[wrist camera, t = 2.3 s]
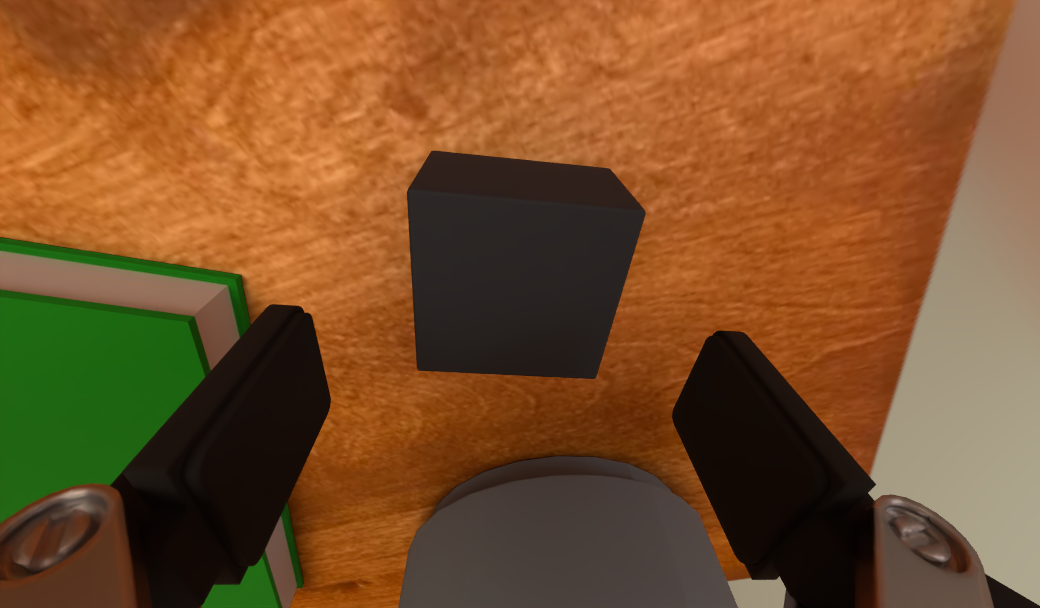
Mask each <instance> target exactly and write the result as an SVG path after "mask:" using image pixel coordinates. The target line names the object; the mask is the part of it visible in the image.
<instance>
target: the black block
mask: <svg viewBox="0 0 1040 608" xmlns="http://www.w3.org/2000/svg"><path fill="white" fill-rule="evenodd" d="M407 201H408V219H409V236H410V254H411V272H412V289H413V307H414V324H415V342H416V360H417V369H418V370H419V371H439V372H459V373H480V374H501V375H522V376H542V377H563V378H584V379H595V378H596V376H597V373H598V370H599V366H600V363H601V360H602V356H603V353H604V350H605V346H606V343H607V340H608V337H609V333H610V330H611V327H612V323H613V320H614V317H615V313H616V310H617V307H618V303H619V300H620V297H621V293H622V290H623V287H624V284H625V280H626V277H627V274H628V270H629V267H630V264H631V260H632V257H633V254H634V250H635V247H636V244H637V240H638V237H639V234H640V230H641V227H642V224H643V221H644V217H645V214H646V213H645V210H644V209H643V208H642V206H641V205H640V204H639V203H638V202H637V200H636V199H635V198H634V197H633V196H632V195H631V193H630V192H629V191H628V190H627V189H626V187H625V186H624V185H623V184H622V183H621V181H620V180H619V179H618V178H617V177H616V175H615V174H614V173H613V172H612V171H611V170H610V169H609V168H599V167H589V166H579V165H569V164H560V163H550V162H540V161H530V160H520V159H510V158H500V157H490V156H480V155H470V154H460V153H450V152H441V151H431V153H430V154H429V156H428V158H427V159H426V161H425V163H424V164H423V166H422V167H421V169H420V171H419V172H418V174H417V176H416V177H415V179H414V180H413V182H412V184H411V185H410V187H409V189H408V191H407Z"/></svg>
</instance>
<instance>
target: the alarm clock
mask: <svg viewBox="0 0 1040 608" xmlns="http://www.w3.org/2000/svg"><path fill="white" fill-rule="evenodd" d="M398 608H738V607H737V604H736V602H735V599H734V597H733V595H732V592H731V590H730V587H729V585H728V583H727V580H726V578H725V575H724V573H723V571H722V568H721V566H720V563H719V561H718V559H717V556H716V554H715V551H714V549H713V547H712V544H711V542H710V539H709V537H708V535H707V532H706V530H705V527H704V525H703V523H702V520H701V518H700V515H699V513H698V512H697V511H695V510H694V509H693V508H692V507H691V506H690V505H689V504H688V503H686V502H685V501H684V500H683V499H682V498H681V497H680V496H677V495H675V494H673V493H672V491H671V489H669V488H668V487H667V486H666V485H665V484H664V483H663V482H661V481H660V480H659V479H658V478H657V477H656V476H655V475H653V474H651V473H648V472H646V471H644V470H641V469H639V468H637V467H635V466H632V465H630V464H627V463H622V462H617V461H612V460H607V459H602V458H597V457H571V456H554V457H547V458H539V459H532V460H525V461H518V462H514V463H511V464H508V465H505V466H502V467H498V468H495V469H492V470H489V471H485V472H483V473H481V474H479V475H477V476H475V477H473V478H472V479H470V480H468V481H466V482H464V483H462V484H460V485H459V486H457V487H455V488H454V489H453V490H452V491H451V492H450V493H449V494H448V495H447V496H446V497H445V498H444V499H443V500H442V501H441V502H440V503H438V505H437V507H436V509H435V512H434V514H433V516H432V517H431V518H430V519H429V520H428V521H427V522H426V523H425V524H424V525H423V526H422V527H420V528H419V529H418V530H417V532H416V535H415V537H414V539H413V541H412V544H411V546H410V548H409V552H408V557H407V563H406V568H405V574H404V579H403V585H402V591H401V596H400V602H399V607H398Z"/></svg>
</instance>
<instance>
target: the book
mask: <svg viewBox="0 0 1040 608" xmlns="http://www.w3.org/2000/svg"><path fill="white" fill-rule="evenodd" d="M250 326H251V324H250V319H249V315H248V310H247V305H246V300H245V295H244V290H243V285H242V281H241V276H240V275H238V274H232V273H225V272H219V271H212V270H206V269H199V268H193V267H187V266H180V265H174V264H167V263H161V262H154V261H148V260H142V259H135V258H129V257H122V256H116V255H109V254H103V253H96V252H90V251H84V250H77V249H71V248H64V247H58V246H51V245H45V244H39V243H32V242H26V241H19V240H13V239H6V238H0V524H1V523H2V522H3V521H4V520H6V519H7V518H9V517H10V516H12V515H13V514H15V513H16V512H18V511H19V510H21V509H22V508H24V507H25V506H27V505H28V504H30V503H32V502H35V501H37V500H39V499H41V498H43V497H45V496H47V495H49V494H51V493H54V492H57V491H60V490H63V489H66V488H69V487H72V486H77V485H83V484H90V483H96V484H106V485H109V486H110V485H111V484H112V483H113V482H114V480H115V479H116V478H117V477H118V476H119V475H120V474H121V473H122V471H123V470H124V469H125V468H126V466H127V465H128V464H129V463H130V462H131V461H132V460H133V458H134V457H135V456H136V455H137V454H138V453H139V452H140V451H141V449H142V448H143V447H144V446H145V445H146V444H147V443H148V441H149V440H150V439H151V438H152V437H153V436H154V435H155V434H156V432H157V431H158V430H159V429H160V428H161V427H162V426H163V424H164V423H165V422H166V421H167V420H168V419H169V418H170V417H171V415H172V414H173V413H174V412H175V411H176V410H177V409H178V407H179V406H180V405H181V404H182V403H183V402H184V401H185V400H186V398H187V397H188V396H189V395H190V394H191V393H192V392H193V391H194V389H195V388H196V387H197V386H198V385H199V384H200V383H201V381H202V380H203V379H204V378H205V377H206V376H207V375H208V374H209V372H210V371H211V370H212V369H213V368H214V367H215V366H216V364H217V363H218V362H219V361H220V360H221V359H222V358H223V357H224V355H225V354H226V353H227V352H228V351H229V350H230V349H231V347H232V346H233V345H234V344H235V343H236V342H237V341H238V340H239V338H240V337H241V336H242V335H243V334H244V333H245V332H246V330H247V329H248V328H249V327H250ZM303 584H304V582H303V577H302V572H301V567H300V562H299V557H298V553H297V548H296V543H295V538H294V533H293V528H292V523H291V519H290V514H289V509H288V504H287V503H286V505H285V508H284V510H283V512H282V514H281V516H280V518H279V521H278V523H277V525H276V527H275V529H274V531H273V534H272V536H271V538H270V540H269V542H268V544H267V547H266V549H265V551H264V553H263V555H262V557H261V559H260V560H259V562H258V563H257V564H256V565H255V566H249V567H248V569H247V571H246V573H245V575H244V577H243V579H242V582H241V584H240V585H213V587H212V589H211V591H210V593H209V595H208V597H207V599H206V600H205V602H204V604H203V605H202V608H289V607H290V604H291V602H292V599H293V596H294V594H295V591H296V588H302V587H303Z"/></svg>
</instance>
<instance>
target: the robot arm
mask: <svg viewBox="0 0 1040 608" xmlns="http://www.w3.org/2000/svg"><path fill="white" fill-rule="evenodd" d="M330 403H331V398H330V393H329V388H328V384H327V380H326V375H325V371H324V367H323V362H322V358H321V354H320V349H319V345H318V340H317V336H316V332H315V327H314V323H313V319H312V316H311V314H309V313H304V310H303V309H302V307H300V306H292V305H275V304H273V305H269V306H268V307H267V308H266V309H265V310H264V311H263V312H262V313H261V315H260V316H259V317H258V318H257V319H256V320H255V321H254V323H253V324H252V325H251V326H250V327H249V328H248V329H247V330H246V332H245V333H244V334H243V335H242V336H241V337H240V338H239V340H238V341H237V342H236V343H235V344H234V345H233V346H232V347H231V349H230V350H229V351H228V352H227V353H226V354H225V355H224V357H223V358H222V359H221V360H220V361H219V362H218V363H217V364H216V366H215V367H214V368H213V369H212V370H211V371H210V372H209V374H208V375H207V376H206V377H205V378H204V379H203V380H202V381H201V383H200V384H199V385H198V386H197V387H196V388H195V389H194V391H193V392H192V393H191V394H190V395H189V396H188V397H187V398H186V400H185V401H184V402H183V403H182V404H181V405H180V406H179V407H178V409H177V410H176V411H175V412H174V413H173V414H172V415H171V417H170V418H169V419H168V420H167V421H166V422H165V423H164V424H163V426H162V427H161V428H160V429H159V430H158V431H157V432H156V434H155V435H154V436H153V437H152V438H151V439H150V440H149V441H148V443H147V444H146V445H145V446H144V447H143V448H142V449H141V451H140V452H139V453H138V454H137V455H136V456H135V457H134V458H133V460H132V461H131V462H130V463H129V464H128V465H127V466H126V468H125V469H124V470H123V471H122V473H121V474H120V475H119V476H118V477H117V478H116V479H115V480H114V482H113V483H112V484H111V485H110V486H109V485H106V484H96V483H90V484H83V485H77V486H72V487H69V488H66V489H63V490H60V491H57V492H54V493H51V494H49V495H47V496H45V497H43V498H41V499H39V500H37V501H35V502H32V503H30V504H28V505H27V506H25V507H24V508H22V509H21V510H19V511H18V512H16V513H15V514H13V515H12V516H10V517H9V518H7V519H6V520H4V521H3V522H2V523H1V524H0V608H202V605H203V604H204V602H205V600H206V599H207V597H208V595H209V593H210V591H211V589H212V587H213V585H240V584H241V582H242V579H243V577H244V575H245V573H246V571H247V569H248V567H249V566H255V565H256V564H257V563H258V562H259V560H260V559H261V557H262V555H263V553H264V551H265V549H266V547H267V544H268V542H269V540H270V538H271V536H272V534H273V531H274V529H275V527H276V525H277V523H278V521H279V518H280V516H281V514H282V512H283V510H284V508H285V505H286V503H287V501H288V499H289V497H290V495H291V492H292V490H293V488H294V486H295V484H296V482H297V479H298V477H299V475H300V473H301V471H302V469H303V466H304V464H305V462H306V460H307V458H308V456H309V453H310V451H311V449H312V447H313V445H314V443H315V440H316V438H317V436H318V434H319V432H320V430H321V427H322V425H323V423H324V421H325V419H326V417H327V414H328V412H329V409H330ZM672 419H673V423H674V426H675V428H676V430H677V432H678V434H679V436H680V438H681V441H682V443H683V445H684V447H685V449H686V451H687V453H688V456H689V458H690V460H691V462H692V464H693V466H694V468H695V471H696V473H697V475H698V477H699V479H700V481H701V483H702V486H703V488H704V490H705V492H706V494H707V496H708V498H709V501H710V503H711V505H712V507H713V509H714V511H715V513H716V515H717V518H718V520H719V522H720V524H721V526H722V528H723V530H724V533H725V535H726V537H727V539H728V541H729V543H730V545H731V548H732V550H733V552H734V554H735V556H736V557H737V559H738V560H739V561H740V562H742V563H744V564H745V566H746V568H747V570H748V572H749V574H750V576H751V578H752V580H775V579H777V578H778V577H779V576H780V578H781V580H782V581H783V583H784V585H785V587H786V594H785V601H784V608H1040V606H1039V605H1037V604H1036V603H1034V602H1032V601H1030V600H1029V599H1027V598H1025V597H1024V596H1022V595H1020V594H1018V593H1017V592H1015V591H1013V590H1012V589H1010V588H1008V587H1007V586H1005V585H1003V584H1001V583H1000V582H998V581H996V580H995V579H993V578H991V577H990V576H988V575H986V574H985V572H984V569H983V565H982V564H981V561H980V559H979V557H978V554H977V552H976V551H975V550H974V549H973V547H972V546H971V545H970V543H969V542H968V541H967V539H966V538H965V537H964V536H963V535H962V534H961V533H960V532H959V531H958V530H956V528H955V527H954V526H953V525H951V524H950V523H949V522H947V521H946V520H945V519H943V518H942V517H941V516H939V515H938V514H937V513H935V512H933V511H932V510H930V509H929V508H927V507H925V506H923V505H922V504H920V503H917V502H915V501H913V500H910V499H908V498H906V497H901V496H896V495H883V496H881V497H880V498H878V499H877V500H876V501H874V500H873V498H872V497H871V496H870V495H869V494H868V492H869V491H870V490H871V489H872V488H873V487H874V486H875V485H876V484H875V483H874V482H873V480H872V479H871V478H870V477H869V476H868V475H867V473H866V472H865V471H864V470H863V469H862V468H861V466H860V465H859V464H858V463H857V462H856V461H855V460H854V458H853V457H852V456H851V455H850V454H849V453H848V451H847V450H846V449H845V448H844V447H843V446H842V445H841V443H840V442H839V441H838V440H837V439H836V438H835V436H834V435H833V434H832V433H831V432H830V431H829V429H828V428H827V427H826V426H825V425H824V424H823V423H822V421H821V420H820V419H819V418H818V417H817V416H816V414H815V413H814V412H813V411H812V410H811V409H810V408H809V406H808V405H807V404H806V403H805V402H804V401H803V399H802V398H801V397H800V396H799V395H798V394H797V392H796V391H795V390H794V389H793V388H792V387H791V386H790V384H789V383H788V382H787V381H786V380H785V379H784V377H783V376H782V375H781V374H780V373H779V372H778V370H777V369H776V368H775V367H774V366H773V365H772V364H771V362H770V361H769V360H768V359H767V358H766V357H765V355H764V354H763V353H762V352H761V351H760V350H759V349H758V347H757V346H756V345H755V344H754V343H753V342H752V340H751V339H750V338H749V337H748V336H747V335H746V334H745V333H743V332H738V331H721V330H720V331H716V332H715V333H714V334H713V335H712V336H709V337H708V338H707V339H706V341H705V343H704V345H703V347H702V349H701V351H700V353H699V356H698V358H697V360H696V362H695V364H694V366H693V368H692V370H691V373H690V375H689V377H688V379H687V381H686V383H685V385H684V387H683V389H682V392H681V394H680V396H679V398H678V400H677V402H676V404H675V406H674V409H673V412H672Z"/></svg>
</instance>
